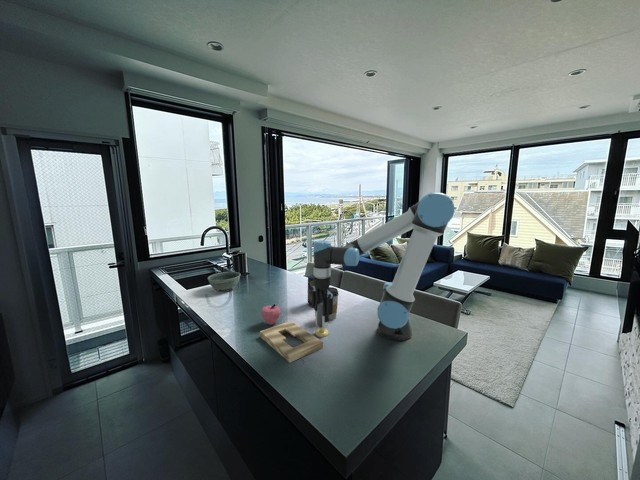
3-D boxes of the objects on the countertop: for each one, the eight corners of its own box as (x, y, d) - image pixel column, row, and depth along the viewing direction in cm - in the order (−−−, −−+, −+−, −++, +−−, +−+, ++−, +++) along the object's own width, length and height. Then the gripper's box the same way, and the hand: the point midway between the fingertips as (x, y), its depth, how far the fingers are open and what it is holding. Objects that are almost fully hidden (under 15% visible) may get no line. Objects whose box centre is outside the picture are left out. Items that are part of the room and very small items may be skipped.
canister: (304, 306, 149) (304, 275, 147) (311, 300, 158) (311, 271, 155) (320, 308, 146) (320, 277, 143) (326, 302, 155) (326, 273, 152)
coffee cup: (337, 321, 130) (337, 293, 128) (320, 320, 132) (320, 291, 130) (339, 314, 138) (339, 287, 136) (323, 313, 140) (323, 286, 138)
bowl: (235, 295, 166) (234, 280, 164) (202, 295, 166) (201, 279, 164) (245, 284, 186) (244, 271, 185) (215, 284, 186) (215, 271, 185)
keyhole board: (322, 347, 107) (322, 341, 107) (289, 362, 97) (289, 356, 97) (290, 326, 126) (290, 320, 125) (260, 336, 116) (259, 331, 115)
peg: (331, 334, 118) (331, 304, 116) (320, 338, 114) (321, 308, 112) (322, 329, 123) (322, 300, 121) (312, 333, 119) (312, 303, 117)
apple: (274, 317, 134) (273, 299, 133) (284, 323, 128) (284, 304, 127) (258, 323, 128) (257, 304, 126) (267, 330, 122) (267, 309, 120)
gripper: (341, 279, 110) (340, 330, 114) (316, 270, 123) (316, 317, 127) (328, 282, 106) (327, 336, 109) (303, 273, 119) (303, 321, 122)
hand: (321, 326), depth 118 cm, fingers closed on peg, 4 cm apart
